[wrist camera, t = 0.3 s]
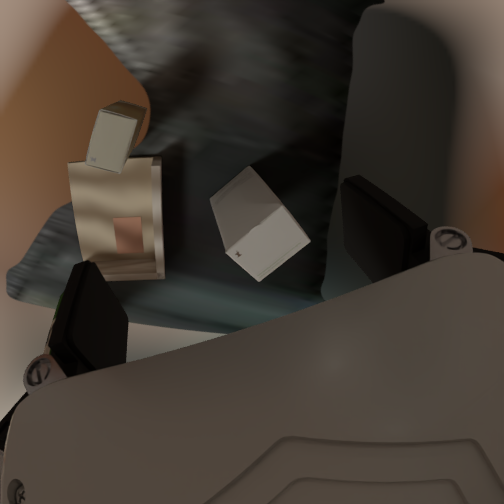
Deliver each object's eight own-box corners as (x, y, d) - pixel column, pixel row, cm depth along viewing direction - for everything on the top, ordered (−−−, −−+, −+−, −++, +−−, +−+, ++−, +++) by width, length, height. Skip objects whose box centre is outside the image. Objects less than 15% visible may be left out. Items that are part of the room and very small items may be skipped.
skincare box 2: (233, 224, 50) (257, 286, 38) (206, 196, 46) (221, 254, 34) (274, 191, 49) (313, 243, 36) (249, 161, 45) (283, 205, 32)
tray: (68, 162, 38) (59, 172, 34) (161, 156, 41) (160, 165, 38) (85, 265, 47) (80, 282, 44) (164, 262, 51) (164, 278, 47)
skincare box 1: (133, 148, 40) (120, 178, 30) (105, 141, 38) (82, 168, 28) (148, 105, 37) (139, 119, 27) (119, 97, 35) (98, 108, 25)
